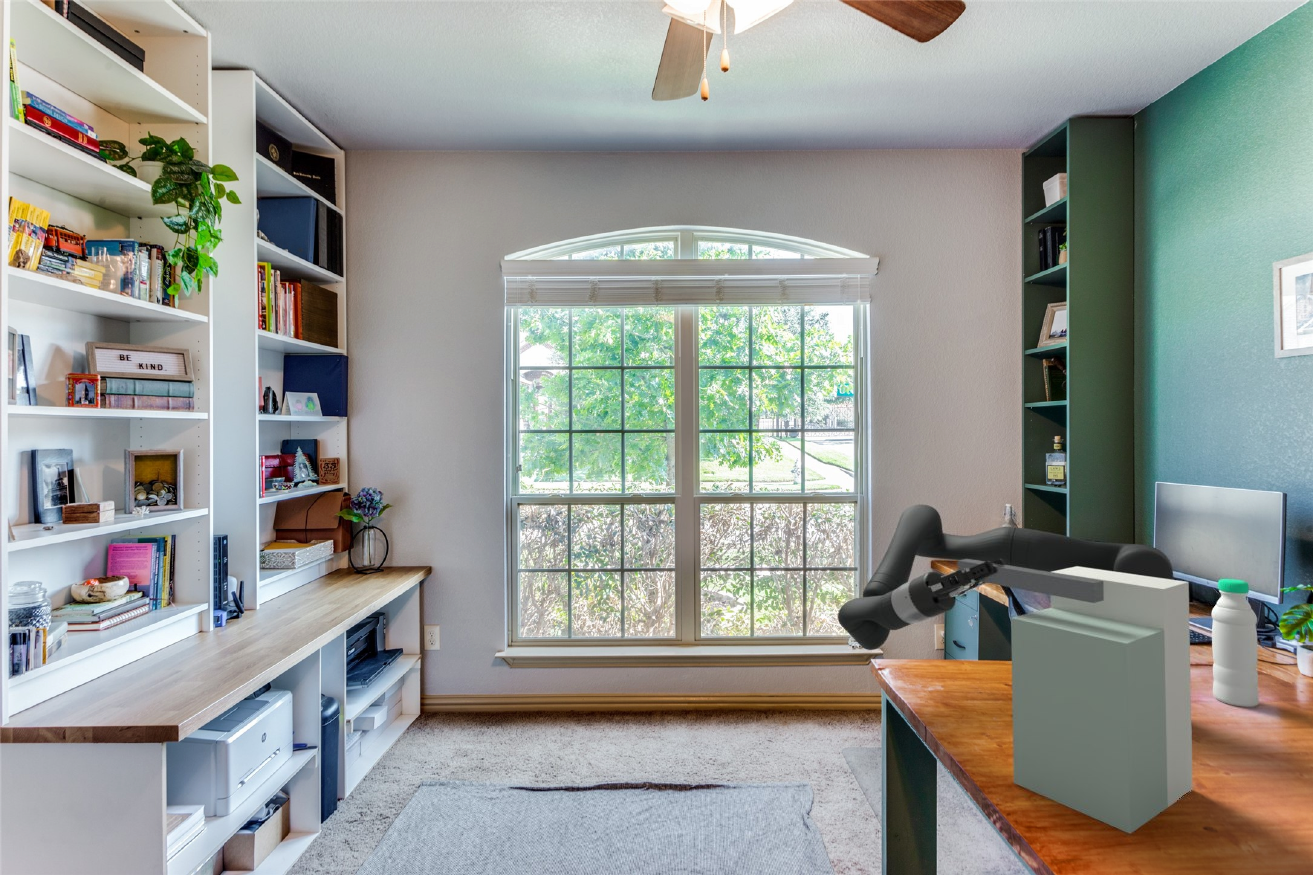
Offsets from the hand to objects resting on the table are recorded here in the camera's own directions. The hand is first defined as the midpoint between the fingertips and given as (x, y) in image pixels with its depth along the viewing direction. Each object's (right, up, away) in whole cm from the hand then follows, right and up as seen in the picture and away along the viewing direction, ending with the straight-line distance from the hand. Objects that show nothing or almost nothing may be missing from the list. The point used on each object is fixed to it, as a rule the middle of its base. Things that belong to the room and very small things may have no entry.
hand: (998, 565), depth 110 cm
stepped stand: (+11, -33, -10) cm, 36 cm away
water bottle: (+61, -33, +23) cm, 74 cm away
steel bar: (+2, -3, -4) cm, 5 cm away
